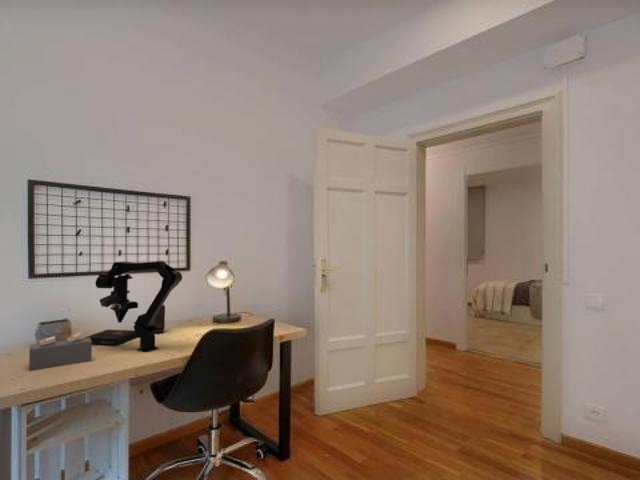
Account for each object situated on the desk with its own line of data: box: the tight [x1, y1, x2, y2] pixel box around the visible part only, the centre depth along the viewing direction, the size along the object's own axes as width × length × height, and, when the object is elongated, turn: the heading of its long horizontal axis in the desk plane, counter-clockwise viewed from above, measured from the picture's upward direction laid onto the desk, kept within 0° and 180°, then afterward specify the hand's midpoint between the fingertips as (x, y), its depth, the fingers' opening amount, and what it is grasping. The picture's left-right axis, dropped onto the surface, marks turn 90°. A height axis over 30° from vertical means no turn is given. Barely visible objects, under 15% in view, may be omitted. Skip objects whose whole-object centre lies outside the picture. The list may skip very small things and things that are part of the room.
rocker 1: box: [38, 335, 57, 346], centre depth 143 cm, size 5×4×1 cm
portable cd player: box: [83, 329, 138, 347], centre depth 179 cm, size 16×17×4 cm
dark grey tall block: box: [148, 304, 166, 335], centre depth 196 cm, size 8×8×15 cm
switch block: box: [28, 337, 93, 372], centre depth 145 cm, size 20×8×8 cm, turn 128°
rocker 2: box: [67, 331, 83, 343], centre depth 148 cm, size 5×4×1 cm
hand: (119, 322), depth 166 cm, fingers closed
